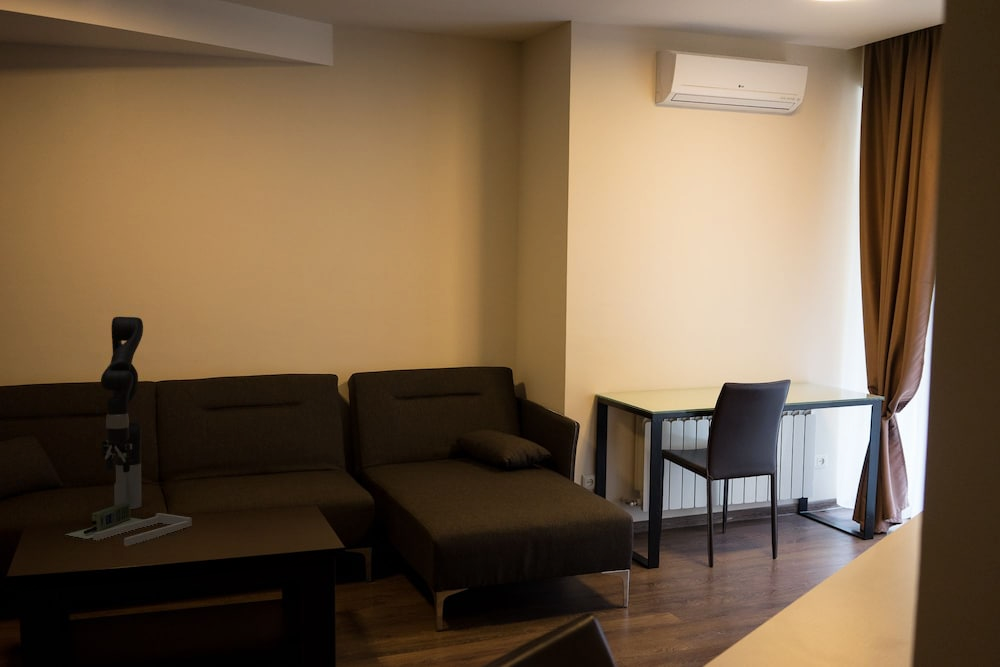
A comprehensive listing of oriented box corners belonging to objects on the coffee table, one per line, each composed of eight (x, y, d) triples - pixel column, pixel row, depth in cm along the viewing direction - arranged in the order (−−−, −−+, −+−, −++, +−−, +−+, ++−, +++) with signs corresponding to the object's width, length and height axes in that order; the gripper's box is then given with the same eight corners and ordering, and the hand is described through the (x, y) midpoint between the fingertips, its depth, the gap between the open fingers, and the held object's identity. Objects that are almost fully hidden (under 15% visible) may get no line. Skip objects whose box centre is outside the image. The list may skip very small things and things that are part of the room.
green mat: (64, 535, 314) (64, 534, 314) (130, 518, 339) (130, 517, 339) (87, 539, 309) (87, 538, 309) (151, 522, 334) (151, 520, 334)
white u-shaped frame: (93, 540, 308) (93, 530, 308) (158, 522, 334) (158, 512, 334) (127, 546, 301) (127, 535, 301) (191, 527, 327) (191, 517, 327)
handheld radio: (132, 519, 336) (89, 536, 312) (124, 519, 337) (81, 536, 312) (131, 501, 336) (88, 516, 312) (123, 501, 337) (80, 516, 312)
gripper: (140, 426, 326) (140, 471, 327) (112, 423, 333) (112, 467, 334) (122, 429, 319) (123, 475, 320) (95, 425, 326) (95, 470, 327)
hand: (117, 470), depth 327 cm, fingers open, 8 cm apart
